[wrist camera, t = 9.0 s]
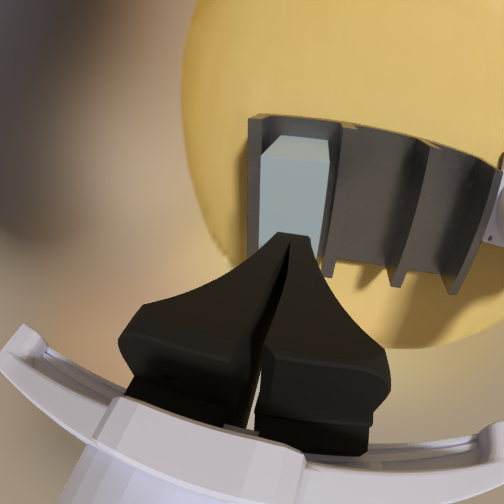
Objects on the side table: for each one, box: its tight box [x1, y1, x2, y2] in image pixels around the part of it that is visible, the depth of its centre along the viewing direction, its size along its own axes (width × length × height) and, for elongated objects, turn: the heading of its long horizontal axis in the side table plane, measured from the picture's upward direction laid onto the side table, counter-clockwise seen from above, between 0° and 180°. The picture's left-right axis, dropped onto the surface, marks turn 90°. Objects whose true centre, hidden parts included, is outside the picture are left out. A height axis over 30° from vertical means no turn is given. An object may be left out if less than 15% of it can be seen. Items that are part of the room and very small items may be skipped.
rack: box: [247, 114, 503, 295], centre depth 17 cm, size 17×10×4 cm, turn 89°
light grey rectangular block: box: [259, 135, 330, 258], centre depth 16 cm, size 3×7×6 cm, turn 179°
